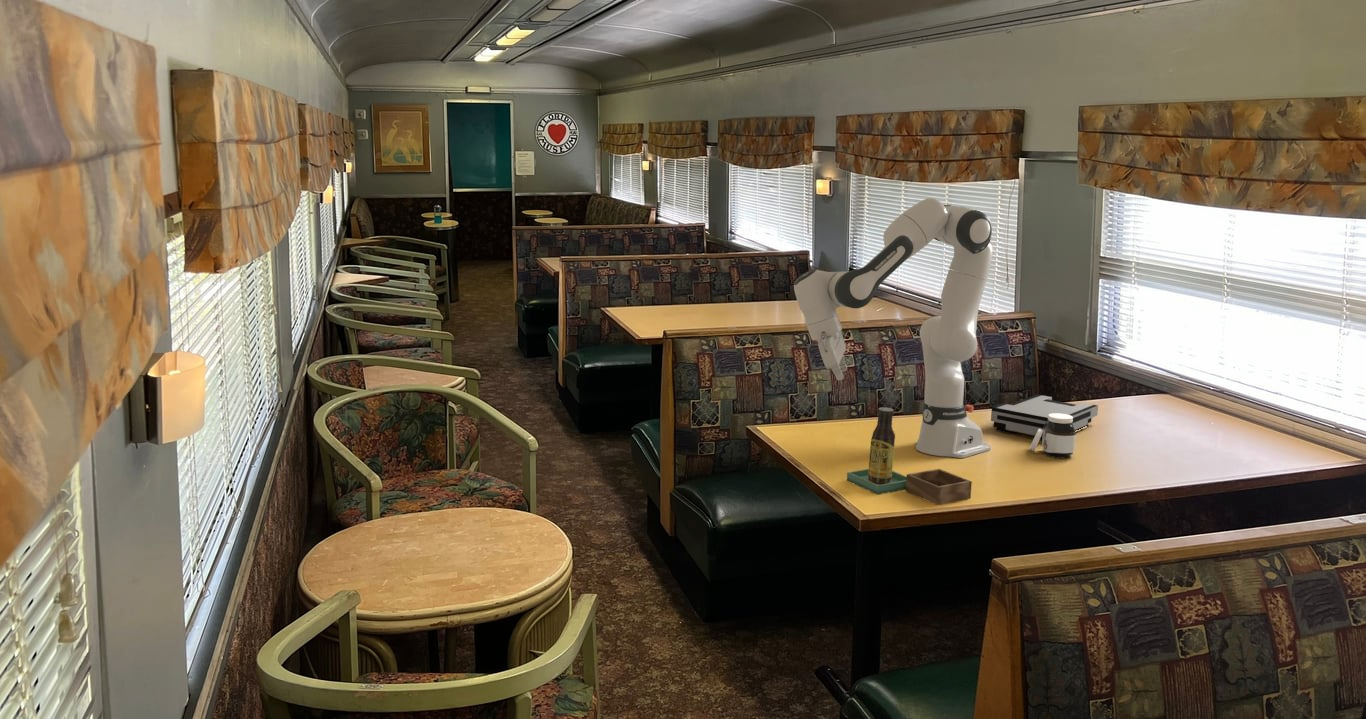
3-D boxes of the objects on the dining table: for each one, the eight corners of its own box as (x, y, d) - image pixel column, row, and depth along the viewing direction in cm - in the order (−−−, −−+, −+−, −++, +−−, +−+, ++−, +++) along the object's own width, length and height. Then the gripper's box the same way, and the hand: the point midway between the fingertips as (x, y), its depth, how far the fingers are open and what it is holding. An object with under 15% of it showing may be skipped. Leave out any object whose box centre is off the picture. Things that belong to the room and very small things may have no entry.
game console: (1096, 426, 349) (1098, 401, 347) (1052, 445, 326) (1055, 419, 324) (1035, 414, 363) (1037, 391, 361) (989, 432, 340) (991, 406, 338)
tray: (882, 474, 293) (882, 466, 293) (913, 487, 282) (914, 479, 282) (846, 480, 288) (847, 472, 287) (877, 494, 277) (878, 486, 276)
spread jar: (1077, 459, 311) (1080, 420, 308) (1039, 459, 310) (1042, 420, 307) (1060, 447, 322) (1063, 410, 320) (1023, 447, 321) (1026, 410, 319)
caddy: (938, 484, 285) (939, 468, 284) (970, 498, 275) (971, 481, 274) (905, 490, 280) (906, 474, 279) (937, 504, 269) (938, 487, 269)
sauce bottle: (863, 481, 285) (867, 408, 281) (874, 476, 289) (878, 404, 285) (885, 486, 281) (889, 412, 277) (896, 480, 285) (900, 408, 281)
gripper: (831, 333, 283) (849, 381, 284) (839, 317, 302) (856, 362, 304) (809, 340, 285) (827, 388, 286) (818, 324, 304) (836, 369, 306)
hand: (842, 375), depth 295 cm, fingers open, 8 cm apart
